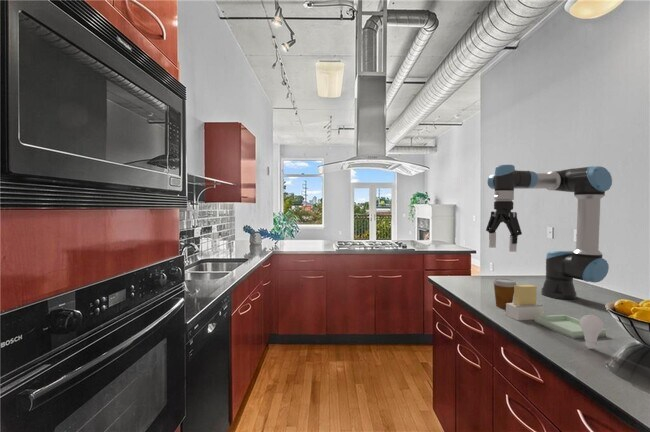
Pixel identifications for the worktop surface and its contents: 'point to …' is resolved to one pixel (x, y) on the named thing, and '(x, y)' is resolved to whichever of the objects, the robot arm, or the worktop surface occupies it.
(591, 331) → the lightbulb
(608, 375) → the worktop surface
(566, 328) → the tray
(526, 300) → the pale yellow tall box
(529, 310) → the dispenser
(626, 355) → the worktop surface
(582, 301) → the worktop surface
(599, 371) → the worktop surface
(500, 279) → the disposable coffee cup
